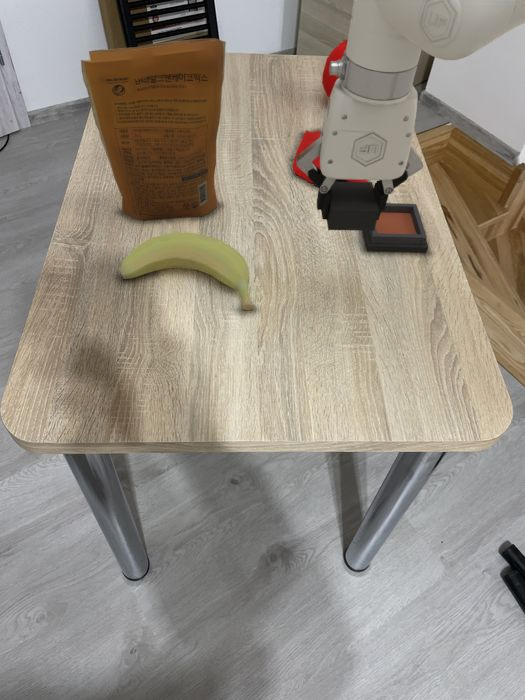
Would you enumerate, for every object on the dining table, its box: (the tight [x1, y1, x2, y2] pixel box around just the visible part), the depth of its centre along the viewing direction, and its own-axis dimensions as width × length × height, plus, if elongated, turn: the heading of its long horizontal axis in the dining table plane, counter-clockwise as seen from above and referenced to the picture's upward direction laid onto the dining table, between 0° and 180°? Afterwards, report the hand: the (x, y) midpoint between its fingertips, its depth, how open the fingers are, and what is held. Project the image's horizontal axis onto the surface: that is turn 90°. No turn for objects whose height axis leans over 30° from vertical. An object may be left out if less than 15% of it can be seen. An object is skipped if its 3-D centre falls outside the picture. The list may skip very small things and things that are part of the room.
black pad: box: [326, 181, 379, 232], centre depth 70 cm, size 6×6×3 cm
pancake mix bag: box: [80, 38, 227, 222], centre depth 81 cm, size 7×19×28 cm, turn 100°
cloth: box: [292, 129, 374, 189], centre depth 101 cm, size 26×14×2 cm, turn 10°
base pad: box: [362, 202, 429, 254], centre depth 90 cm, size 10×10×3 cm
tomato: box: [321, 38, 348, 99], centre depth 112 cm, size 12×12×13 cm
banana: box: [118, 232, 255, 311], centre depth 80 cm, size 14×6×20 cm
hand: (349, 212), depth 71 cm, fingers closed on black pad, 6 cm apart
